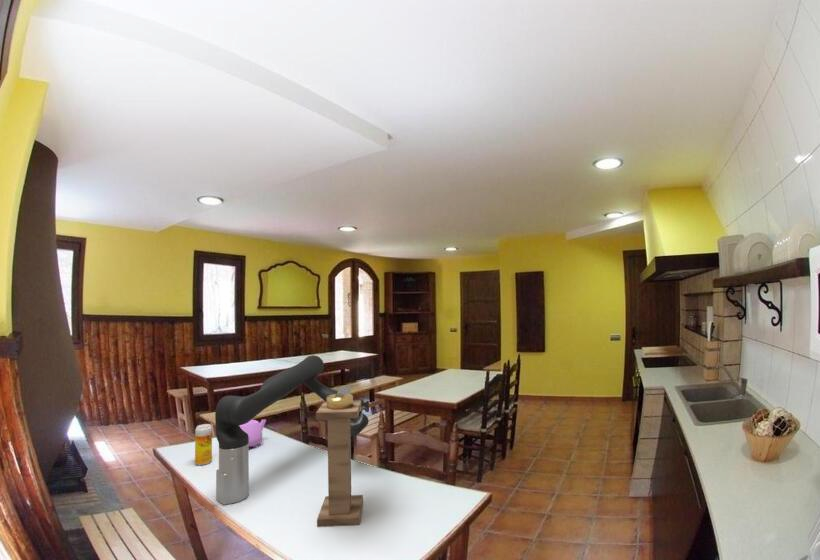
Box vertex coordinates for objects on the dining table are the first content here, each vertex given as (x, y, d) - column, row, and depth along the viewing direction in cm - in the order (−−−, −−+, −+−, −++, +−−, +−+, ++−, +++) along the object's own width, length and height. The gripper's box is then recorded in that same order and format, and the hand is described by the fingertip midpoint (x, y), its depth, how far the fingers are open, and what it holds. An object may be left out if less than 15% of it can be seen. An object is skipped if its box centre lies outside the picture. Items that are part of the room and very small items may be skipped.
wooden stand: (325, 502, 129) (324, 401, 131) (363, 501, 130) (361, 400, 132) (317, 526, 115) (315, 413, 117) (359, 524, 116) (357, 411, 118)
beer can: (204, 466, 162) (205, 428, 163) (191, 465, 163) (191, 427, 164) (215, 460, 168) (215, 423, 169) (202, 459, 169) (202, 423, 170)
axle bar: (335, 394, 141) (334, 385, 142) (357, 393, 142) (357, 385, 142) (324, 410, 121) (324, 399, 121) (351, 409, 121) (351, 399, 121)
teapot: (230, 456, 172) (230, 426, 173) (217, 450, 180) (217, 421, 180) (272, 443, 187) (272, 415, 188) (258, 438, 195) (258, 411, 196)
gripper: (335, 404, 163) (329, 391, 149) (370, 403, 163) (368, 390, 150) (334, 423, 159) (328, 412, 145) (370, 422, 159) (367, 411, 146)
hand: (348, 401), depth 148 cm, fingers open, 8 cm apart
